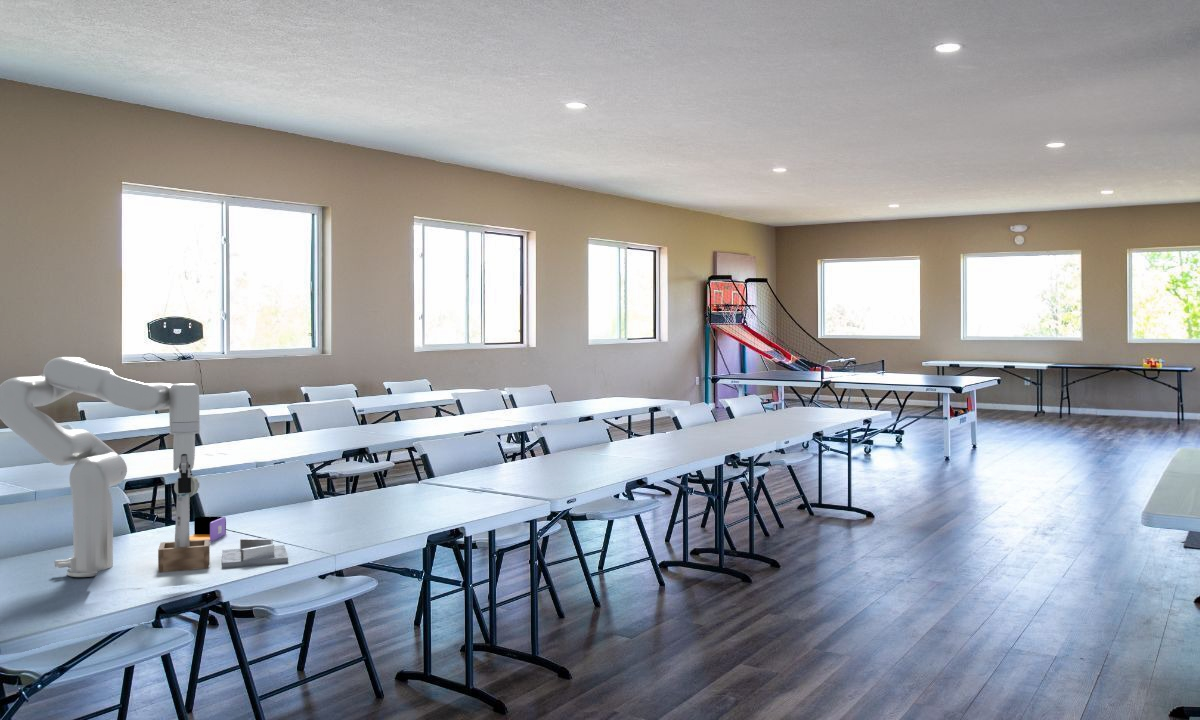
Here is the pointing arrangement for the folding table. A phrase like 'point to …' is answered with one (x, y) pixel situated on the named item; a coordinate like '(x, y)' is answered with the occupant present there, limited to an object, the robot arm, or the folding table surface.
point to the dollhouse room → (208, 528)
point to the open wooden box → (184, 556)
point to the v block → (254, 554)
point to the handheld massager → (183, 514)
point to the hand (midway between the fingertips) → (185, 490)
